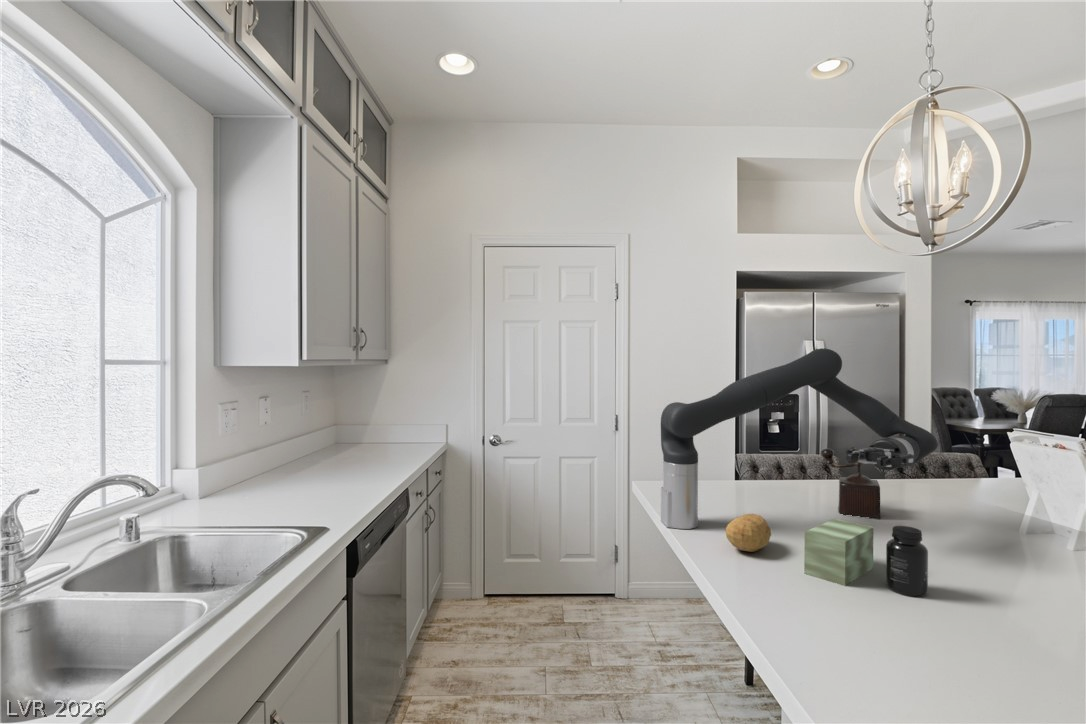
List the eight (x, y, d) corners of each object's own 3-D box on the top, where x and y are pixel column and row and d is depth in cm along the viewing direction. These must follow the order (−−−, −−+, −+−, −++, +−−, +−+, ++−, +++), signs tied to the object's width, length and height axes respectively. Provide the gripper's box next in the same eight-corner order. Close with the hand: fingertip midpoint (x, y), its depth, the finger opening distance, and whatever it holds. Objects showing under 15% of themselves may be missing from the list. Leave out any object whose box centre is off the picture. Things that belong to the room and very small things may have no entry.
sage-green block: (834, 558, 123) (834, 518, 123) (873, 568, 117) (873, 527, 117) (804, 574, 114) (804, 531, 114) (845, 586, 108) (845, 541, 108)
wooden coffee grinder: (877, 510, 163) (878, 450, 163) (881, 519, 153) (881, 456, 153) (820, 503, 170) (820, 446, 170) (819, 512, 160) (820, 452, 160)
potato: (776, 545, 132) (776, 512, 132) (763, 562, 120) (763, 526, 120) (735, 537, 137) (735, 506, 137) (719, 553, 125) (719, 519, 125)
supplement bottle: (936, 598, 102) (937, 534, 102) (900, 597, 103) (900, 534, 102) (912, 583, 109) (912, 523, 109) (878, 582, 109) (878, 523, 109)
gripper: (859, 434, 140) (831, 440, 129) (925, 441, 129) (899, 448, 118) (859, 463, 140) (831, 472, 129) (925, 472, 129) (899, 482, 118)
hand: (864, 460), depth 124 cm, fingers open, 5 cm apart
